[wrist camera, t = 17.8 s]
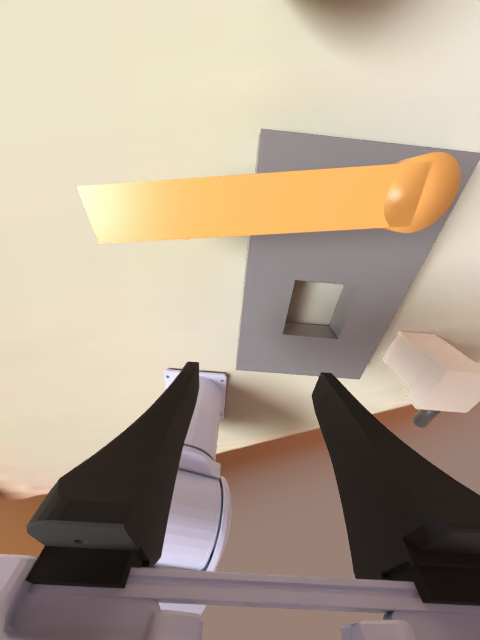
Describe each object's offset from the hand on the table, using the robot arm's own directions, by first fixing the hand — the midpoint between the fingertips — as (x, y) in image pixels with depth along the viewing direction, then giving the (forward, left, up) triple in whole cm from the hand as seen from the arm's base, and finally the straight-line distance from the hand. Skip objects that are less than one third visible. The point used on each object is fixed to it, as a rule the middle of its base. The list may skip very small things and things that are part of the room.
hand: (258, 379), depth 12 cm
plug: (-6, -19, -10) cm, 22 cm away
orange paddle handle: (+9, +1, -3) cm, 10 cm away
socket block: (+3, -6, -10) cm, 12 cm away
